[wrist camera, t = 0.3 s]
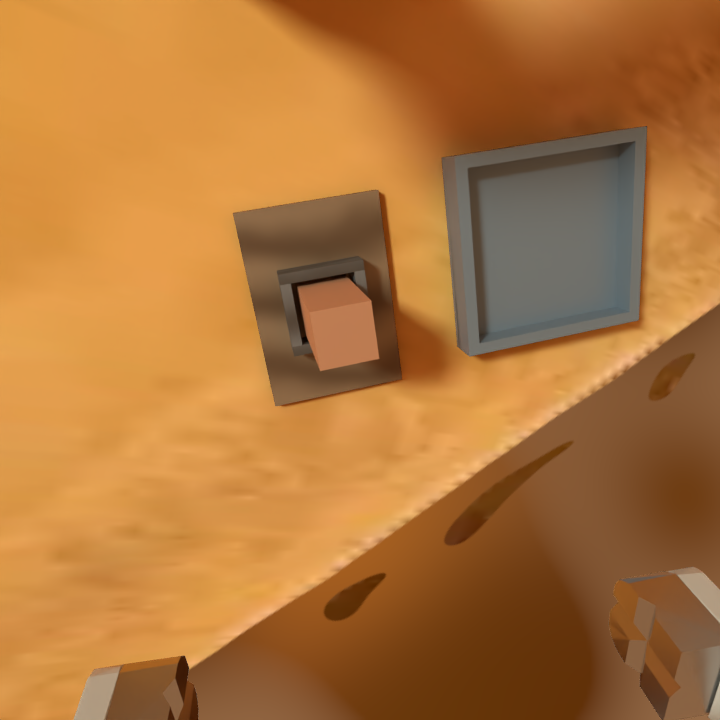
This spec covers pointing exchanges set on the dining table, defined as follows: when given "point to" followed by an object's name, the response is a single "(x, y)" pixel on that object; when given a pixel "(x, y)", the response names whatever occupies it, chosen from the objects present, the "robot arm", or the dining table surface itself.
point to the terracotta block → (337, 322)
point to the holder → (312, 262)
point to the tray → (545, 238)
